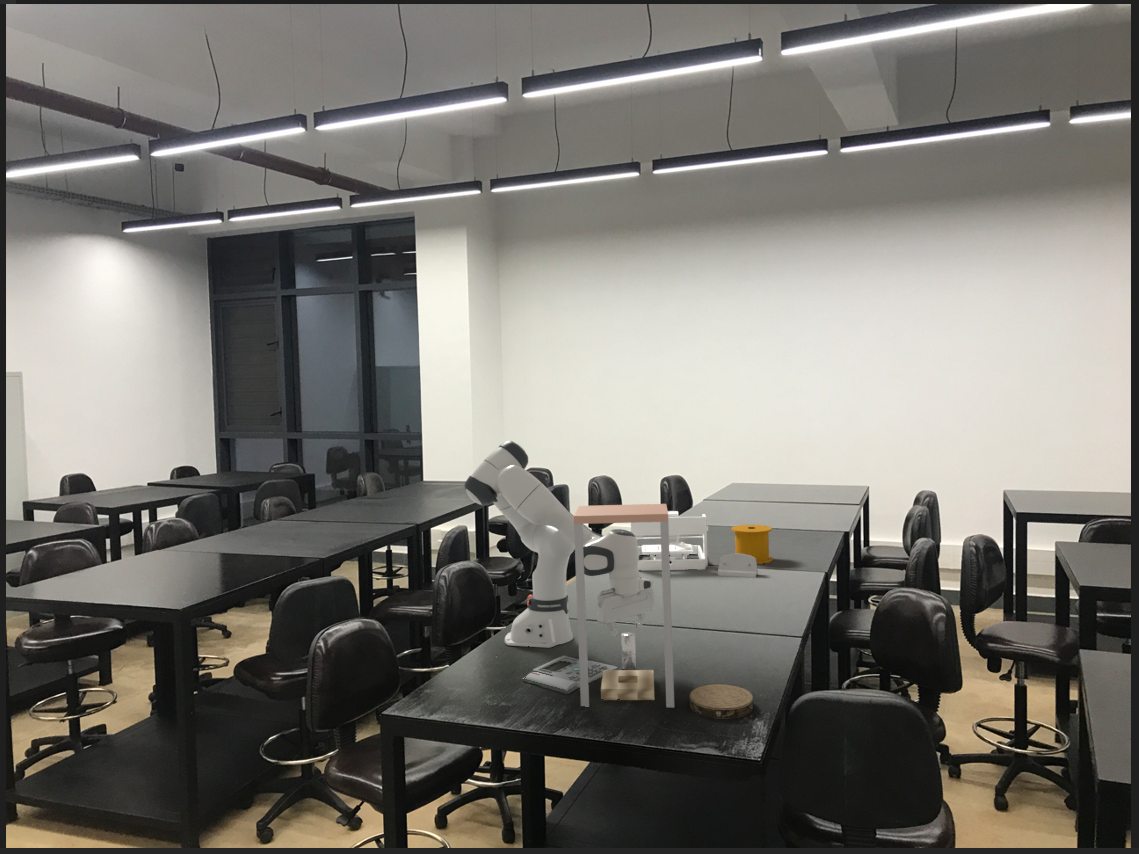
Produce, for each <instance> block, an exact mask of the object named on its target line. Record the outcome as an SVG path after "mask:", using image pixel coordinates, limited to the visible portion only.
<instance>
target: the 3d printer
mask: <svg viewBox="0 0 1139 854" xmlns="http://www.w3.org/2000/svg"><path fill="white" fill-rule="evenodd" d="M667 511H668V525H669V555H670V556H669V557H670V562H671V563H670V571H682V570H683V571H684V570H686V569H687V571H688V569H697V570H706V568H708V565H709V564H708V532H709V525H707V515H706V514H705V513H702V514H701V516H679V511H678V510H677V511H676V510H667ZM630 532H632V533H633V534H634V535H635V537H636V540H645V539H647V540H651V539H654V540H655V539H656V540H657V539H658V540H659V539H660V540H661V528H660V522H636V523H630ZM682 535H683V536H682ZM685 535H688V536H685ZM689 535H693V536H689ZM694 535H695V536H694ZM696 535H699V536H696ZM638 536H639V537H638ZM640 536H641V537H640ZM642 536H643V537H642ZM644 536H647V537H644ZM648 536H651V537H648ZM652 536H654V537H652ZM696 538H697V539H699V538H700V539H702V544H703V545H702V547H703V548H702V547H701V545H699V544H698V545H697V544H695V545H693V544H690V543H685V542H684V541H680V539H696ZM638 554H639V555H649V554H650V556H649V557H650V559H639V562H638V571H639V570H641V571H662V558H661V544H641V546H638ZM689 554H698V555H697V556H698V558H688V556H690V555H689ZM653 555H654V556H653ZM655 555H656V556H655ZM639 572H640V571H639Z"/></svg>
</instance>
